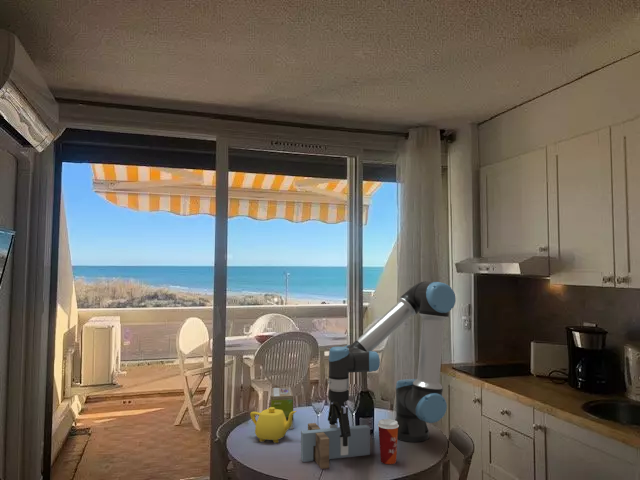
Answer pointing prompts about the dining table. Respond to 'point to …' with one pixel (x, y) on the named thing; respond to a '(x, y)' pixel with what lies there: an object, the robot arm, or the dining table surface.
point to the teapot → (271, 424)
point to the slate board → (337, 442)
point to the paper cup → (388, 440)
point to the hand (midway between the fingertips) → (338, 448)
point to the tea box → (283, 401)
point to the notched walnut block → (320, 447)
